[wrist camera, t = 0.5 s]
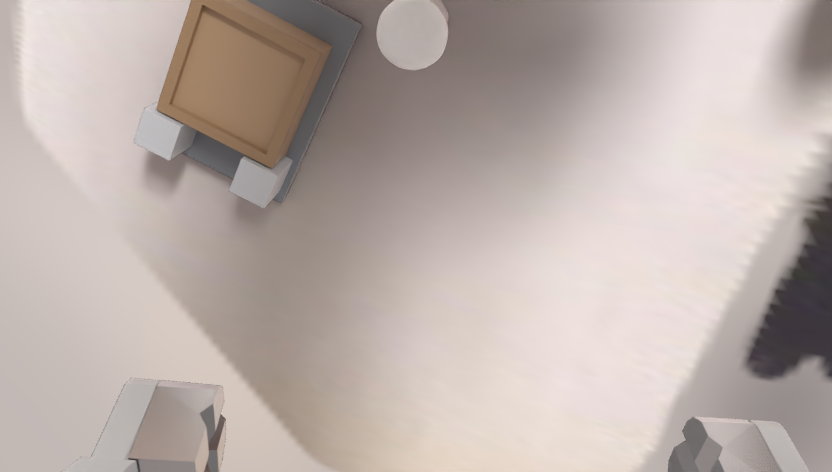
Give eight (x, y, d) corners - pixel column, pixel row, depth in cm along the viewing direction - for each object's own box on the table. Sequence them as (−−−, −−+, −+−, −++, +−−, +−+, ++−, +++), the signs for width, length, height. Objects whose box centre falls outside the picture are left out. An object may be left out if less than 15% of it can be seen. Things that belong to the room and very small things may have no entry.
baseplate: (217, -54, 51) (186, -52, 46) (362, 24, 52) (346, 34, 47) (155, 132, 58) (123, 150, 53) (285, 198, 58) (265, 222, 54)
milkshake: (463, -22, 49) (451, -10, 40) (453, 54, 52) (439, 81, 43) (401, -31, 50) (375, -21, 41) (393, 45, 52) (367, 70, 43)
